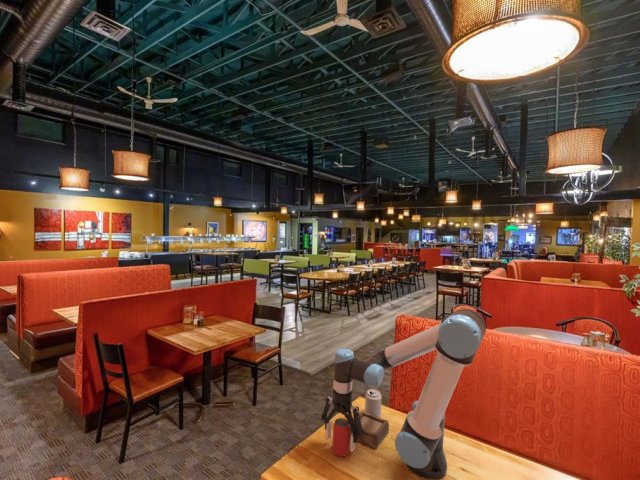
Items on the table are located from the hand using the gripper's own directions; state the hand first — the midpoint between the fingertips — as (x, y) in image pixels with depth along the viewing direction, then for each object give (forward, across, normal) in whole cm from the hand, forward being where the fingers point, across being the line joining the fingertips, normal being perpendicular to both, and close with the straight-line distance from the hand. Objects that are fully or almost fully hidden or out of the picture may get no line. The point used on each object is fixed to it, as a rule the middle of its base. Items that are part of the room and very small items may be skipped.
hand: (340, 443), depth 126 cm
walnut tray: (+3, -5, -16) cm, 17 cm away
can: (+3, -1, -29) cm, 29 cm away
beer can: (+3, 0, 0) cm, 3 cm away
